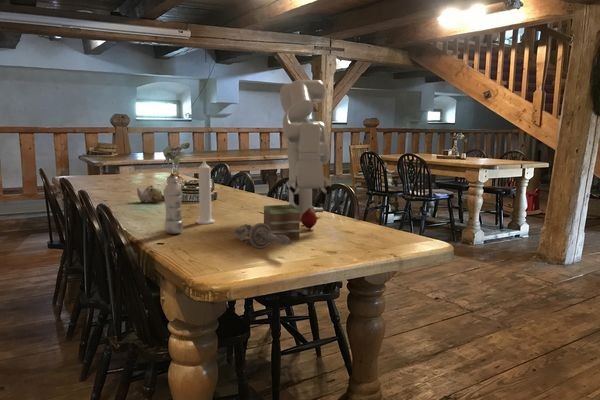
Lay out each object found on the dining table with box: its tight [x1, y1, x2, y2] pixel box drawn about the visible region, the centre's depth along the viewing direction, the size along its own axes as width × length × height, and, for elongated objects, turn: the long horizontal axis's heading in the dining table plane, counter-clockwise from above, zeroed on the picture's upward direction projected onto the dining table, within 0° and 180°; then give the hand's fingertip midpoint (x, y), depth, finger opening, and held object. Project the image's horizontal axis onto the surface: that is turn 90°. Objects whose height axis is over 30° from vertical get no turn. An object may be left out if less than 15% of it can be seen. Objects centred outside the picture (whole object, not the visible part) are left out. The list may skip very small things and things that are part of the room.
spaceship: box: [234, 222, 292, 249], centre depth 155 cm, size 8×35×8 cm
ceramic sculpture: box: [136, 185, 165, 203], centre depth 243 cm, size 11×9×15 cm
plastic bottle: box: [163, 176, 184, 235], centre depth 174 cm, size 6×7×20 cm
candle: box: [196, 158, 216, 225], centre depth 193 cm, size 7×7×25 cm
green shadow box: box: [263, 204, 301, 240], centre depth 170 cm, size 10×11×10 cm
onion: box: [300, 208, 318, 230], centre depth 183 cm, size 6×6×8 cm
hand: (309, 204), depth 181 cm, fingers open, 9 cm apart
